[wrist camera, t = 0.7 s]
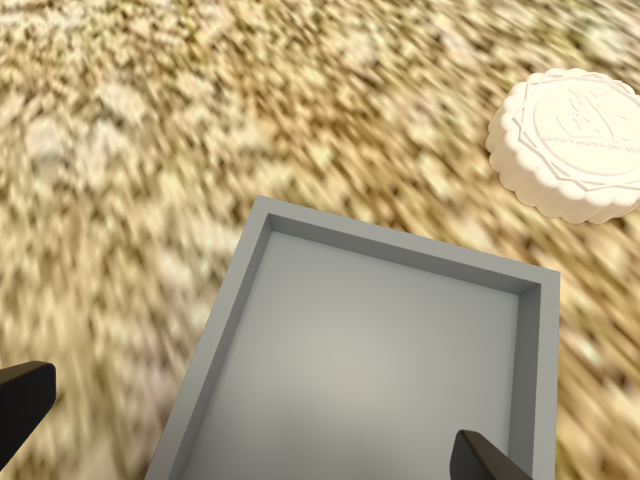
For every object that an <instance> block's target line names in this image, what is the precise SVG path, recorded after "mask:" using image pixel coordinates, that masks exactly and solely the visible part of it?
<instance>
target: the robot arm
mask: <svg viewBox="0 0 640 480" xmlns="http://www.w3.org/2000/svg"><path fill="white" fill-rule="evenodd" d="M55 399H56V368H55V366H54V365H53V364H52V363H48V362H42V361H30V362H26V363H23V364H19V365H15V366H12V367H8V368H4V369H1V370H0V471H1V470H2V469H3V468H4V467H5V465H6V464H7V463H8V462H9V461H10V459H11V458H12V457H13V456H14V454H15V453H16V452H17V451H18V449H19V448H20V447H21V446H22V444H23V443H24V442H25V441H26V439H27V438H28V437H29V435H30V434H31V433H32V432H33V430H34V429H35V428H36V427H37V425H38V424H39V423H40V422H41V420H42V419H43V418H44V417H45V415H46V414H47V413H48V412H49V410H50V409H51V408H52V406H53V404H54V402H55ZM449 471H450V479H451V480H534V479H532V478H531V477H530V476H529V475H528V474H527V473H526V472H524V471H523V470H522V469H521V468H520V467H519V466H517V465H516V464H515V463H514V462H513V461H512V460H510V459H509V458H508V457H507V456H506V455H505V454H504V453H502V452H501V451H500V450H499V449H498V448H497V447H495V446H494V445H493V444H492V443H491V442H490V441H488V440H487V439H486V438H485V437H484V436H483V435H481V434H480V433H479V432H476V431H470V430H464V429H460V430H459V431H458V432H457V434H456V437H455V441H454V446H453V450H452V454H451V458H450V465H449Z"/></svg>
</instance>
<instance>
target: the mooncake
mask: <svg viewBox="0 0 640 480" xmlns="http://www.w3.org/2000/svg"><path fill="white" fill-rule="evenodd" d="M488 132H489V136H488V137H487V139H486V141H485V147H486V149H487V150H488V152H489V153H491V155H490V157H489V164H490V166H491V168H492V169H493V170H494V171H496V172H498V173H500V174H499V180H500V183H501V184H502V185H503V186H504V187H505V188H506V189H508V190H510V191H514V192H515V195H516V198H517V199H518V200H519V201H520V202H521V203H522V204H524V205H526V206H529V207H536V208H537V210H538V211H539V212H540V213H541V214H542V215H544V216H546V217H548V218H557V217H561V218H562V219H563V220H564V221H566V222H568V223H571V224H580V223H583V222H584V221H588V222H590V223H593V224H602V223H604V222H606V221H608V220H609V219H611V218H620V217H622V216H624V215H626V214H628V213H629V212H631V211H633V210H634V209H636V208H638V207H639V206H640V96H639V95H636V94H635V93H634V91H633V89H632V88H631V87H630V86H628V85H627V84H624V83H622V82H621V81H617V80H612V79H611V78H610V77H608V76H607V75H604V74H601V73H596V72H590V73H588V72H587V71H585V70H583V69H579V68H573V69H570V70H568V71H565V70H563V69H559V68H553V69H549V70H548V71H546V72H545V73H544V74H543V73H533V74H531V75H529V76H528V77H527V78H526V79H525V81H524V82H520V83H517V84H515V85H514V86H513V87H512V89H511V90H510V92H509V94H508V95H507V97H506V98H505V99H504V101H503V102H502V104H501V105H500V107H499V109H498V110H497V112H496V113H495V115H494V117H493V118H492V120H491V121H490V123H489V125H488Z"/></svg>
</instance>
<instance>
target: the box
mask: <svg viewBox="0 0 640 480" xmlns="http://www.w3.org/2000/svg"><path fill="white" fill-rule="evenodd" d="M559 303H560V272H558V271H554V270H550V269H546V268H543V267H539V266H535V265H531V264H527V263H523V262H519V261H515V260H511V259H507V258H503V257H499V256H496V255H492V254H488V253H484V252H480V251H476V250H472V249H468V248H464V247H460V246H456V245H453V244H449V243H445V242H441V241H437V240H433V239H429V238H425V237H421V236H417V235H413V234H409V233H406V232H402V231H398V230H394V229H390V228H386V227H382V226H378V225H374V224H370V223H366V222H363V221H359V220H355V219H351V218H347V217H343V216H339V215H335V214H331V213H327V212H323V211H319V210H316V209H312V208H308V207H304V206H300V205H296V204H292V203H288V202H284V201H280V200H276V199H273V198H269V197H265V196H261V195H257V197H256V200H255V202H254V205H253V208H252V210H251V213H250V215H249V218H248V220H247V223H246V225H245V228H244V230H243V233H242V235H241V238H240V240H239V243H238V245H237V248H236V250H235V253H234V255H233V258H232V260H231V263H230V265H229V268H228V270H227V273H226V275H225V278H224V280H223V283H222V285H221V288H220V290H219V293H218V295H217V298H216V300H215V303H214V305H213V308H212V310H211V313H210V315H209V318H208V320H207V323H206V325H205V328H204V330H203V333H202V335H201V338H200V340H199V343H198V346H197V348H196V351H195V353H194V356H193V358H192V361H191V363H190V366H189V368H188V371H187V373H186V376H185V378H184V381H183V383H182V386H181V388H180V391H179V393H178V396H177V398H176V401H175V403H174V406H173V408H172V411H171V413H170V416H169V418H168V421H167V423H166V426H165V428H164V431H163V433H162V436H161V438H160V441H159V443H158V446H157V448H156V451H155V453H154V456H153V458H152V461H151V463H150V466H149V468H148V471H147V473H146V476H145V478H144V480H451V479H450V471H449V465H450V458H451V454H452V450H453V446H454V441H455V437H456V434H457V432H458V431H459V430H460V429H464V430H470V431H476V432H479V433H480V434H481V435H483V436H484V437H485V438H486V439H487V440H488V441H490V442H491V443H492V444H493V445H494V446H495V447H497V448H498V449H499V450H500V451H501V452H502V453H504V454H505V455H506V456H507V457H508V458H509V459H510V460H512V461H513V462H514V463H515V464H516V465H517V466H519V467H520V468H521V469H522V470H523V471H524V472H526V473H527V474H528V475H529V476H530V477H531V478H532V479H534V480H555V449H556V412H557V376H558V339H559Z"/></svg>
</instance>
